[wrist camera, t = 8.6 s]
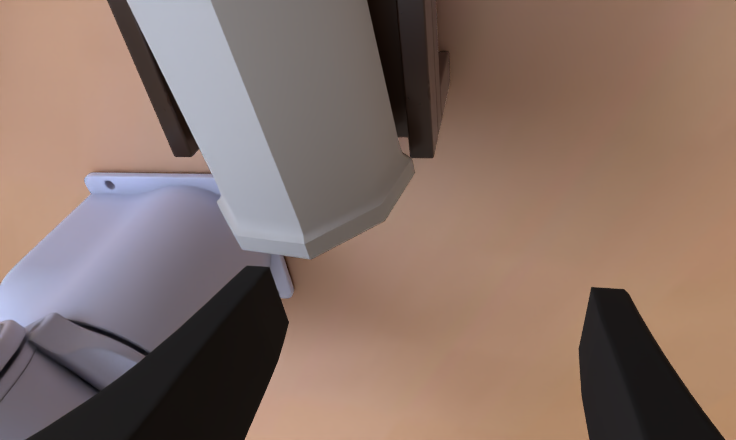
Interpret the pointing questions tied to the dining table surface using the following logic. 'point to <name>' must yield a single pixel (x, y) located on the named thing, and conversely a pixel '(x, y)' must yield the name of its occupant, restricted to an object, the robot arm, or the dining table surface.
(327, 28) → the grey octagonal prism
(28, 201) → the dining table surface
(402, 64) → the dark brown tray
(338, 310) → the dining table surface
